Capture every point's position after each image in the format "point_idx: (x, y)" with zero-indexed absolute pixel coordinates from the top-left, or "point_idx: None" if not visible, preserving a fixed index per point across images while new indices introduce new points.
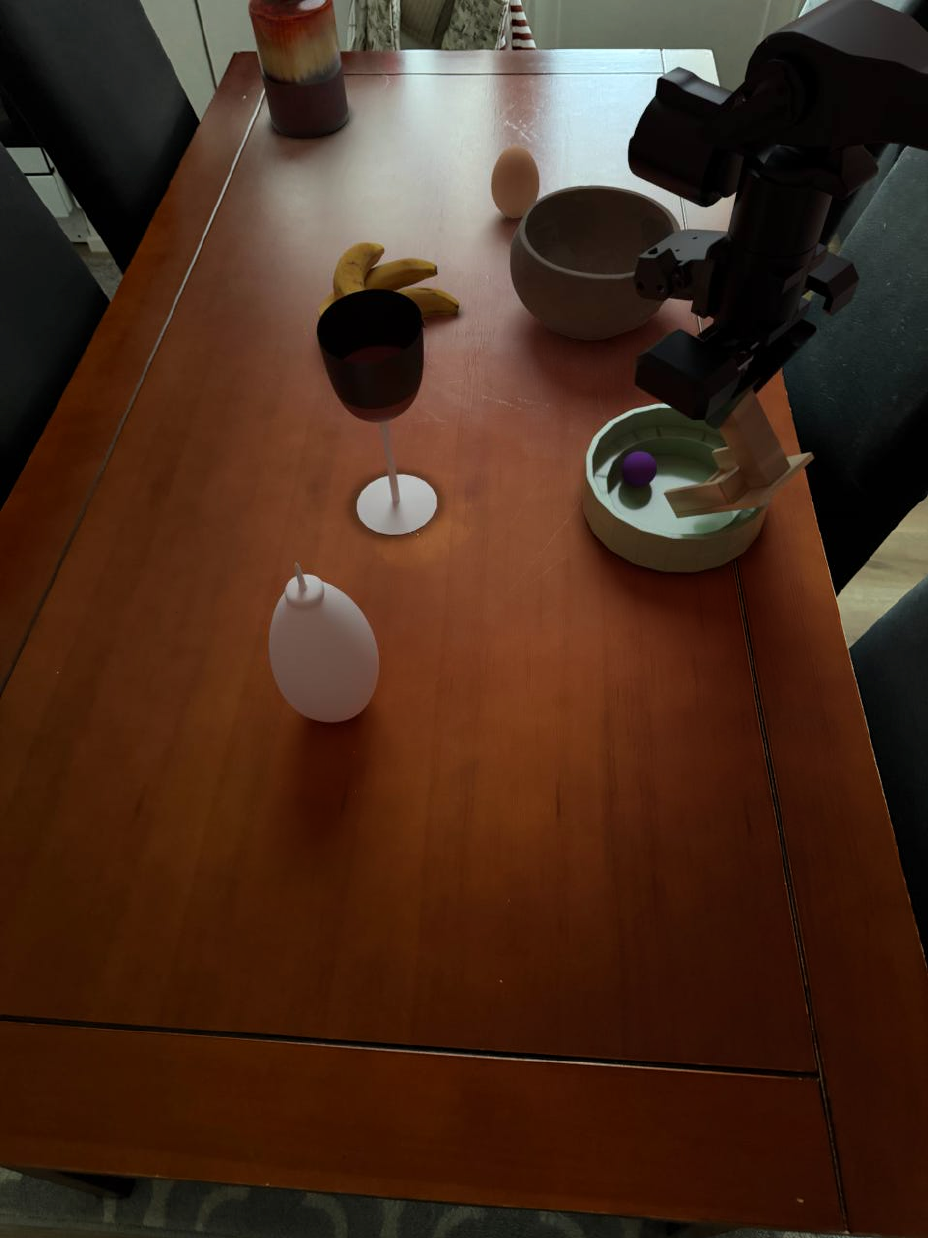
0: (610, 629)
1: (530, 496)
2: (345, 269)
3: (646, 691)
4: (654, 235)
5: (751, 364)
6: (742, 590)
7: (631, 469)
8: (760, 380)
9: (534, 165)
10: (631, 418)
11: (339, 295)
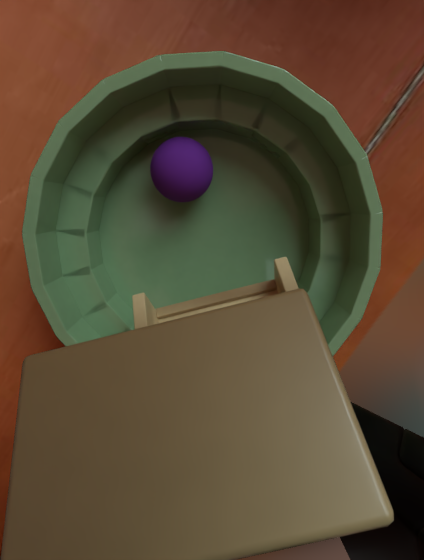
0: (10, 370)
1: (14, 96)
2: None
3: (7, 456)
4: None
5: (373, 554)
6: None
7: (154, 176)
8: (355, 556)
9: None
10: (212, 71)
11: None
